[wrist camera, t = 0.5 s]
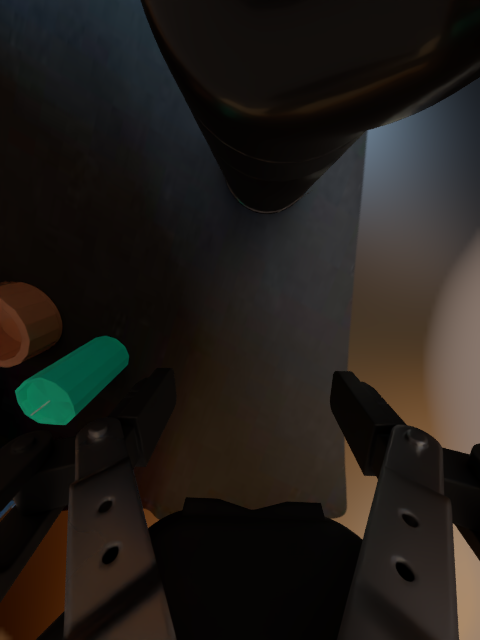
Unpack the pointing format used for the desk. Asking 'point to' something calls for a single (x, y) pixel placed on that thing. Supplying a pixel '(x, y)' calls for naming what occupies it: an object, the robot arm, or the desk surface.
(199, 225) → the desk surface
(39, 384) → the candle
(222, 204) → the desk surface
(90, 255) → the desk surface
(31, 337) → the holder
